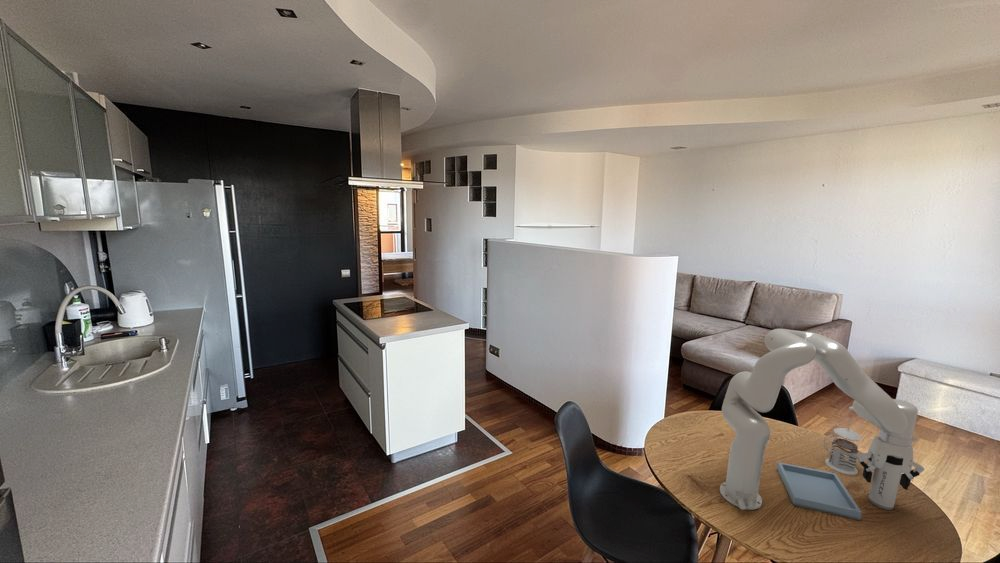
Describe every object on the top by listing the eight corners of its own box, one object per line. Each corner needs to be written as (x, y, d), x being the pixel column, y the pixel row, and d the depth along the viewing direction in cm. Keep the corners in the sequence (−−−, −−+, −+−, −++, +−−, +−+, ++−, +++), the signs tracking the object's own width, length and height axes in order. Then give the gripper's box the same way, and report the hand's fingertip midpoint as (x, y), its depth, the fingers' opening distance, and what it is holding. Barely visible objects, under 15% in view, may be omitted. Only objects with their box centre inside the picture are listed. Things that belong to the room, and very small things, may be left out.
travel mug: (882, 496, 139) (893, 444, 135) (898, 511, 132) (911, 457, 128) (862, 495, 139) (873, 443, 135) (878, 509, 133) (890, 455, 129)
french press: (864, 476, 149) (877, 415, 144) (828, 472, 151) (840, 411, 146) (847, 460, 158) (859, 401, 154) (814, 456, 161) (824, 398, 156)
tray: (860, 520, 128) (861, 512, 128) (793, 505, 134) (794, 497, 134) (834, 480, 146) (835, 473, 146) (776, 468, 153) (777, 461, 152)
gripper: (922, 436, 131) (911, 482, 135) (856, 426, 137) (848, 470, 141) (936, 449, 124) (925, 497, 128) (867, 438, 130) (857, 484, 134)
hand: (884, 483), depth 134 cm, fingers open, 9 cm apart
